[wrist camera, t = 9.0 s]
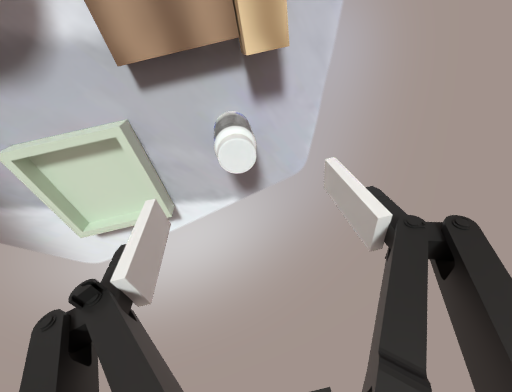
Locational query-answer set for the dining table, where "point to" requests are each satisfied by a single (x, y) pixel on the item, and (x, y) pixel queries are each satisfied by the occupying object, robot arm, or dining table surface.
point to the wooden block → (261, 25)
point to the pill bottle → (234, 142)
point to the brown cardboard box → (161, 26)
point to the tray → (90, 177)
